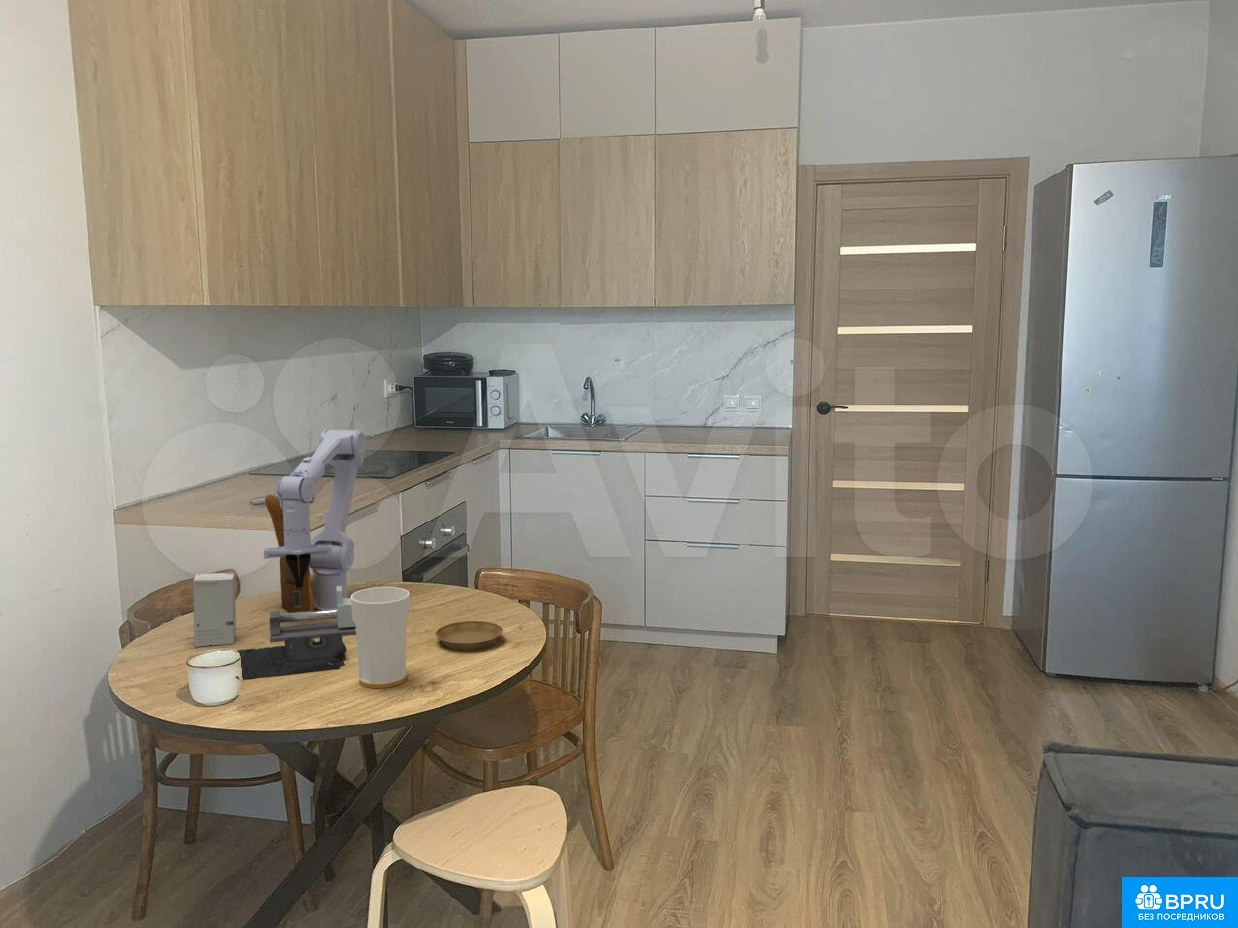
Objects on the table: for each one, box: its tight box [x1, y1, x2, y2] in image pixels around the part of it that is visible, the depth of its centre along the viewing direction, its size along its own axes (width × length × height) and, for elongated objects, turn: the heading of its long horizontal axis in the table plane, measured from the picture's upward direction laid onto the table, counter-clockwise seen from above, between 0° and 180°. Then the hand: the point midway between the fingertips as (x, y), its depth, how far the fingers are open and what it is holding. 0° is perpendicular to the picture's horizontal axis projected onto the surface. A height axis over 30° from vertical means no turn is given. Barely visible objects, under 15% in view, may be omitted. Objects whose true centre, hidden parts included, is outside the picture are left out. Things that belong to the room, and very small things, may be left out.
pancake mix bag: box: [264, 494, 315, 613], centre depth 230 cm, size 7×19×28 cm, turn 38°
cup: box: [350, 586, 411, 689], centre depth 188 cm, size 11×11×17 cm
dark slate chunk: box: [236, 633, 347, 681], centre depth 198 cm, size 15×22×5 cm
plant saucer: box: [434, 620, 504, 651], centre depth 211 cm, size 15×15×3 cm
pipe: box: [269, 609, 338, 637], centre depth 217 cm, size 26×5×5 cm, turn 108°
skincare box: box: [192, 572, 237, 648], centre depth 209 cm, size 8×6×15 cm
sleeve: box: [336, 586, 356, 628], centre depth 218 cm, size 4×5×8 cm
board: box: [269, 621, 356, 643], centre depth 217 cm, size 26×8×1 cm, turn 108°
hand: (299, 586), depth 219 cm, fingers closed
